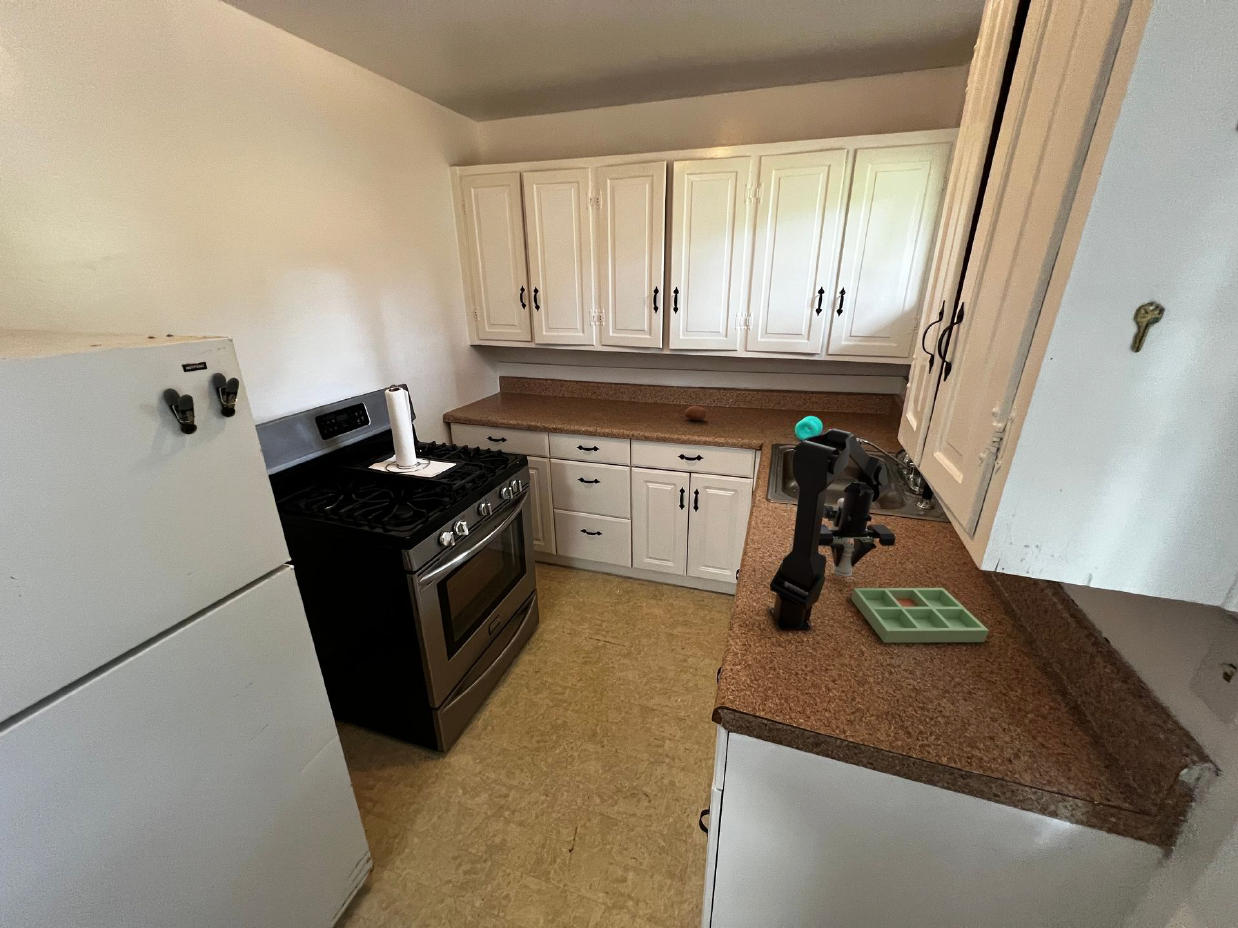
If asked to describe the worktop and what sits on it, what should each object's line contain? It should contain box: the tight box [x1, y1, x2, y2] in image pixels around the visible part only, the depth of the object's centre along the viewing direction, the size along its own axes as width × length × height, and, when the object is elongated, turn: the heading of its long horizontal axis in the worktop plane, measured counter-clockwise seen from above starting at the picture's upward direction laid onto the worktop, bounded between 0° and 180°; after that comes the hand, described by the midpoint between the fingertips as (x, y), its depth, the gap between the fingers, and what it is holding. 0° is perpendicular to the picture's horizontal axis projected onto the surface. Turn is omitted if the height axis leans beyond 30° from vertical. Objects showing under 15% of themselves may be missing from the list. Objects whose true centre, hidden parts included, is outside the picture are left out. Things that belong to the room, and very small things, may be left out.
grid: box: [850, 587, 989, 644], centre depth 102 cm, size 21×14×3 cm
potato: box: [684, 405, 707, 422], centre depth 243 cm, size 8×11×8 cm
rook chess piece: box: [832, 541, 855, 578], centre depth 115 cm, size 4×4×8 cm
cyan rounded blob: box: [794, 415, 824, 442], centre depth 216 cm, size 10×10×10 cm
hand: (843, 565), depth 115 cm, fingers closed on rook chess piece, 3 cm apart
